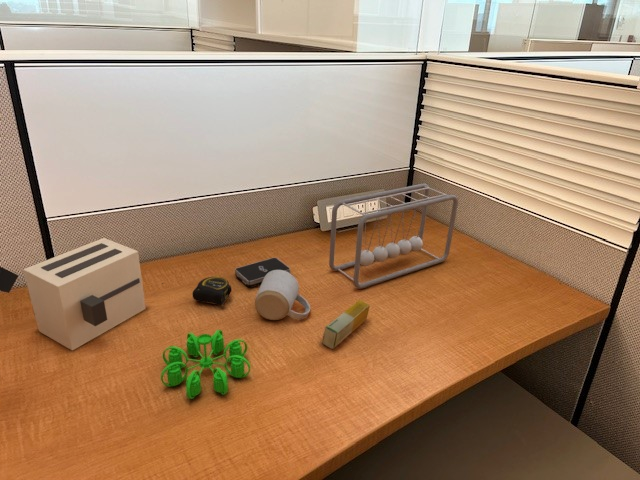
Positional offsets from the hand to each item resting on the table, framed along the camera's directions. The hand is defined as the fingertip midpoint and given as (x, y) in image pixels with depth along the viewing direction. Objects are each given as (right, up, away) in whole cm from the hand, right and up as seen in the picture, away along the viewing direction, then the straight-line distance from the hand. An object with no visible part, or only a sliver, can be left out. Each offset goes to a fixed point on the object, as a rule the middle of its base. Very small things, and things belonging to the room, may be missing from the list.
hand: (10, 283), depth 69 cm
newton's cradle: (+62, 0, +48) cm, 78 cm away
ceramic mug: (+37, -8, +29) cm, 48 cm away
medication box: (+49, -12, +23) cm, 56 cm away
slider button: (+5, -8, +15) cm, 18 cm away
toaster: (+1, -9, +23) cm, 25 cm away
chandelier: (+25, -16, +12) cm, 32 cm away
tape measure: (+22, -7, +31) cm, 39 cm away
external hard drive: (+31, -2, +41) cm, 52 cm away
